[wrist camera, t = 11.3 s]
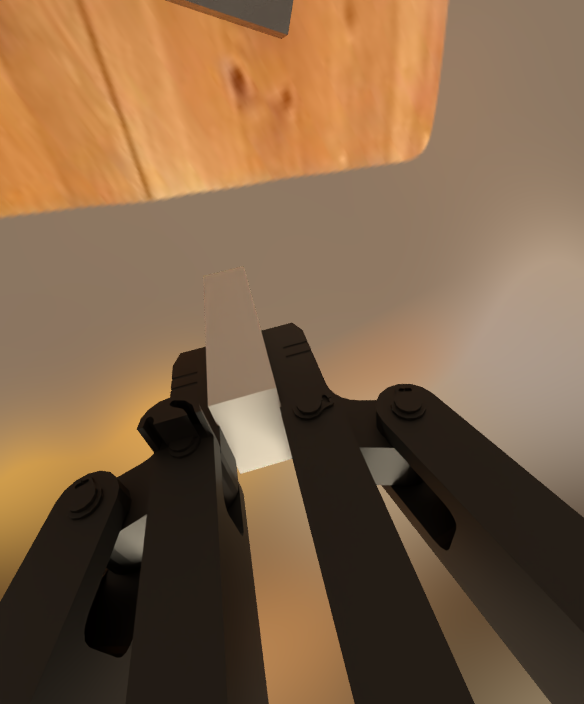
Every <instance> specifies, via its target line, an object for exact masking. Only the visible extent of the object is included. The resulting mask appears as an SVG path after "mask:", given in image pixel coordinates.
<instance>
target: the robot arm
mask: <svg viewBox="0 0 584 704" xmlns="http://www.w3.org/2000/svg"><path fill="white" fill-rule="evenodd" d="M203 281H204V308H205V309H204V310H205V337H206V347H203V348H199V349H195V350H191V351H188V352H184V353H181V354H180V355H179V357H178V358H177V360H176V362H175V363H174V365H173V371H172V384H171V390H172V391H171V394H170V398H168V399H165V400H163V401H160V402H159V403H157V404H156V405H154V406H153V407H152V408H150V409H149V410H148V411H147V412H146V413H145V415H144V416H143V417H142V418H141V420H140V423H139V425H138V427H137V430H138V431H139V433H140V434H141V435H142V437H143V438H144V439H145V441H146V442H147V443H148V445H149V446H150V448H151V449H152V450H153V451H154V454H153V455H152V456H151V457H150V458H149V459H148V460H146V461H145V462H143V463H141V464H140V465H138V466H136V467H135V468H133V469H131V470H129V471H128V472H126V473H124V474H122V475H121V476H119V477H116V476H114V475H113V474H112V473H111V472H106V471H97V472H93V473H89V474H87V475H85V476H83V477H82V478H80V479H78V480H76V481H75V482H74V483H73V484H72V485H70V486H69V487H68V488H67V489H66V490H65V491H64V492H63V493H62V495H61V496H60V498H59V499H58V500H57V502H56V503H55V505H54V507H53V508H52V510H51V512H50V514H49V515H48V518H47V519H46V521H45V523H44V524H43V526H42V528H41V530H40V532H39V533H38V535H37V537H36V539H35V540H34V542H33V544H32V546H31V548H30V549H29V551H28V553H27V555H26V557H25V559H24V560H23V562H22V564H21V566H20V567H19V569H18V571H17V573H16V575H15V577H14V578H13V580H12V582H11V584H10V586H9V587H8V589H7V591H6V592H5V594H4V596H3V598H2V600H1V601H0V704H269V703H268V694H267V686H266V678H265V669H264V661H263V653H262V645H261V636H260V627H259V619H258V611H257V602H256V595H255V586H254V577H253V569H252V561H251V552H250V544H249V536H248V527H247V519H246V510H245V502H244V494H243V491H242V488H241V486H240V484H239V482H238V476H237V467H238V469H239V471H240V473H245V472H248V471H252V470H255V469H259V468H262V467H265V466H269V465H272V464H276V463H279V462H282V461H286V460H289V459H293V463H294V467H295V471H296V475H297V479H298V483H299V487H300V491H301V494H302V498H303V502H304V506H305V510H306V513H307V518H308V522H309V526H310V530H311V534H312V537H313V541H314V545H315V549H316V553H317V557H318V561H319V565H320V569H321V573H322V577H323V581H324V584H325V589H326V593H327V597H328V600H329V604H330V608H331V612H332V616H333V620H334V624H335V628H336V632H337V636H338V640H339V643H340V648H341V651H342V655H343V659H344V663H345V667H346V671H347V675H348V679H349V683H350V686H351V691H352V695H353V699H354V702H355V704H475V703H474V701H473V699H472V697H471V695H470V692H469V690H468V688H467V686H466V683H465V682H464V679H463V677H462V674H461V672H460V670H459V668H458V666H457V663H456V661H455V659H454V657H453V654H452V653H451V650H450V648H449V646H448V643H447V641H446V639H445V637H444V634H443V632H442V630H441V628H440V626H439V623H438V621H437V619H436V617H435V614H434V612H433V610H432V608H431V606H430V603H429V601H428V599H427V597H426V594H425V592H424V590H423V588H422V586H421V583H420V581H419V579H418V577H417V574H416V572H415V570H414V568H413V565H412V564H411V561H410V559H409V557H408V555H407V552H406V550H405V548H404V546H403V543H402V541H401V539H400V537H399V534H398V532H397V530H396V528H395V526H394V523H393V521H392V519H391V517H390V515H389V512H388V510H387V508H386V505H385V503H384V501H383V499H382V497H381V494H380V492H379V490H378V488H377V486H376V485H382V486H383V488H384V489H385V490H386V492H387V493H388V494H389V495H390V497H391V498H392V499H393V501H394V502H395V503H396V504H397V506H398V507H399V508H400V510H401V511H402V512H403V513H404V515H405V516H406V517H407V519H408V520H409V521H410V522H411V524H412V525H413V526H414V527H415V529H416V530H417V531H418V533H419V534H420V535H421V537H422V538H423V539H424V540H425V542H426V543H427V544H428V546H429V547H430V548H431V549H432V551H433V552H434V553H435V555H436V556H437V557H438V558H439V560H440V561H441V562H442V564H443V565H444V566H445V567H446V569H447V570H448V571H449V573H450V574H451V575H452V576H453V578H454V579H455V580H456V581H457V583H458V584H459V585H460V587H461V588H462V589H463V590H464V592H465V593H466V594H467V596H468V597H469V598H470V599H471V601H472V602H473V603H474V605H475V606H476V607H477V608H478V610H479V611H480V612H481V614H482V615H483V616H484V617H485V619H486V620H487V621H488V623H489V624H490V625H491V626H492V628H493V629H494V630H495V632H496V633H497V634H498V635H499V637H500V638H501V639H502V640H503V642H504V643H505V644H506V646H507V647H508V648H509V650H510V651H511V652H512V653H513V655H514V656H515V657H516V659H517V660H518V661H519V662H520V664H521V665H522V666H523V668H524V669H525V670H526V671H527V673H528V674H529V675H530V677H531V678H532V679H533V680H534V682H535V683H536V684H537V685H538V687H539V688H540V689H541V691H542V692H543V693H544V694H545V696H546V697H547V698H548V700H549V701H550V702H551V703H552V704H584V518H583V517H582V516H581V515H580V514H578V513H577V512H576V511H575V510H574V509H572V508H571V507H570V506H569V505H567V504H566V503H565V502H564V501H563V500H561V499H560V498H559V497H558V496H557V495H555V494H554V493H553V492H552V491H550V490H549V489H548V488H547V487H546V486H544V485H543V484H542V483H541V482H540V481H538V480H537V479H536V478H535V477H534V476H532V475H531V474H529V472H527V471H526V470H525V469H524V468H523V467H521V466H520V465H519V464H518V463H517V462H515V461H514V460H513V459H512V458H510V457H509V456H508V455H506V453H504V452H503V451H502V450H501V449H500V448H498V447H497V446H496V445H495V444H493V443H492V442H491V441H490V440H488V439H487V438H486V437H485V436H484V435H482V434H481V433H480V432H479V431H478V430H476V429H475V428H474V427H473V426H472V425H470V424H469V423H468V422H467V421H466V420H464V419H463V418H462V417H461V416H459V415H458V414H457V413H456V412H455V411H453V410H452V409H451V408H450V407H449V406H447V405H446V404H445V403H443V401H441V400H440V399H439V398H438V397H436V396H435V395H434V394H433V393H431V392H430V391H428V390H426V389H424V388H423V387H420V386H416V385H412V384H397V385H395V386H391V387H388V388H387V389H385V390H384V391H383V392H382V393H380V395H379V397H378V399H377V400H361V401H359V400H349V399H345V398H341V397H340V396H338V395H336V394H334V393H333V392H332V391H331V390H330V389H329V388H328V386H327V385H326V383H325V380H324V378H323V376H322V374H321V371H320V369H319V367H318V364H317V362H316V360H315V358H314V355H313V353H312V352H311V348H310V346H309V344H308V342H307V339H306V337H305V335H304V333H303V330H302V329H300V328H299V327H297V326H296V325H295V324H293V323H289V324H286V325H281V326H278V327H274V328H270V329H266V330H262V331H261V327H260V324H259V320H258V316H257V313H256V309H255V305H254V302H253V298H252V294H251V291H250V287H249V284H248V280H247V276H246V273H245V269H244V266H241V267H237V268H234V269H230V270H225V271H222V272H217V273H214V274H209V275H206V276H203ZM236 465H237V467H236Z"/></svg>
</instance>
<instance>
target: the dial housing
mask: <svg viewBox="0 0 584 704" xmlns="http://www.w3.org/2000/svg"><path fill="white" fill-rule="evenodd" d="M166 1H169V2H172V3H175V4H178V5H181V6H184V7H187V8H190V9H193V10H196V11H199V12H202V13H205V14H208V15H211V16H214V17H217V18H220V19H223V20H226V21H229V22H232V23H235V24H238V25H241V26H245V27H248V28H251V29H254V30H257V31H260V32H263V33H266V34H269V35H272V36H275V37H278V38H281V39H282V38H284V37H285V36H287V35H288V31H289V24H290V18H291V11H292V5H293V0H166Z"/></svg>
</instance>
